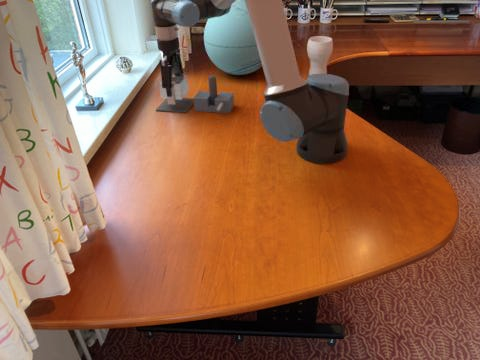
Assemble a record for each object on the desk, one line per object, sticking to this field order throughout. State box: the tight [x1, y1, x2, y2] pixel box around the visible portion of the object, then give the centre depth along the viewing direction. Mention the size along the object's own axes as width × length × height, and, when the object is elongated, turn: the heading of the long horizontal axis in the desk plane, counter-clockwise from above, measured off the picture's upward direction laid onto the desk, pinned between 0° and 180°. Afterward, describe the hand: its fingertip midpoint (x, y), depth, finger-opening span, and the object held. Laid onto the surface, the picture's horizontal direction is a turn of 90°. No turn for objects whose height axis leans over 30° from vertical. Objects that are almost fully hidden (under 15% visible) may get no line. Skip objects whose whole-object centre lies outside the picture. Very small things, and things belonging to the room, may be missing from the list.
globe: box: [203, 0, 263, 76], centre depth 171 cm, size 30×30×30 cm
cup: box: [306, 35, 334, 76], centre depth 170 cm, size 11×11×15 cm
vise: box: [192, 75, 235, 114], centre depth 145 cm, size 12×13×12 cm
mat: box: [155, 97, 194, 114], centre depth 153 cm, size 12×12×1 cm
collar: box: [158, 74, 190, 100], centre depth 149 cm, size 8×8×6 cm
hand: (175, 99), depth 151 cm, fingers closed on collar, 8 cm apart
